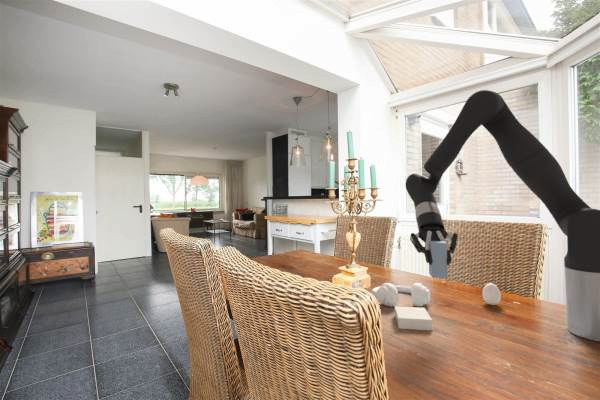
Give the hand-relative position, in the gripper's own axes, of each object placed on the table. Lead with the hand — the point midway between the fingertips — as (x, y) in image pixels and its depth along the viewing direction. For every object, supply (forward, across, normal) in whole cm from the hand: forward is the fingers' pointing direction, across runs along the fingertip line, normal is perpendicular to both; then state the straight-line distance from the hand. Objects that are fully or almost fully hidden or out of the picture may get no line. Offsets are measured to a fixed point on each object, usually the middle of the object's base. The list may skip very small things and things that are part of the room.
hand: (439, 263), depth 80 cm
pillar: (+2, 0, +4) cm, 5 cm away
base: (+12, -7, +15) cm, 20 cm away
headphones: (-2, -8, +30) cm, 31 cm away
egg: (-1, +22, +28) cm, 35 cm away
